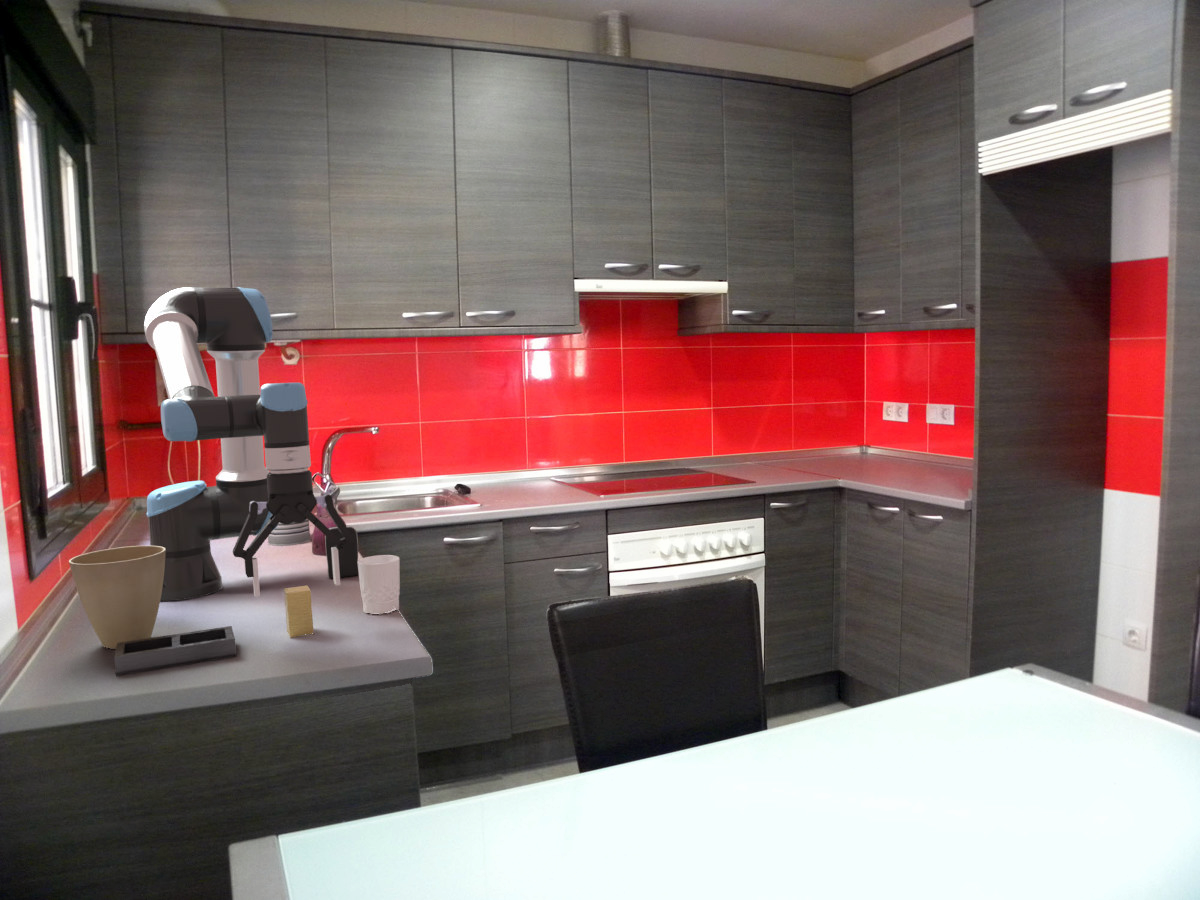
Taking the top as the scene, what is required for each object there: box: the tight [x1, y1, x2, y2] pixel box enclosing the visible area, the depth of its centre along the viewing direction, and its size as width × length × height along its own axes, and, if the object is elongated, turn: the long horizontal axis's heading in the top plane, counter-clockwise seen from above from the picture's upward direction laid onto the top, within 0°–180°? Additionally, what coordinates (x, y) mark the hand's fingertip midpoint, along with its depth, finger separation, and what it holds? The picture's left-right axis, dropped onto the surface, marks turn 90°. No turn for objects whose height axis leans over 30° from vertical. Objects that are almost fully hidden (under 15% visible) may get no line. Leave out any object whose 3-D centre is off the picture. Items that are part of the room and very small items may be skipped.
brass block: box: [283, 585, 314, 638], centre depth 160 cm, size 4×4×8 cm
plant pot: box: [68, 545, 166, 650], centre depth 157 cm, size 15×15×16 cm
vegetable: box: [311, 503, 348, 556], centre depth 229 cm, size 10×10×15 cm
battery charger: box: [325, 525, 359, 579], centre depth 202 cm, size 7×4×11 cm, turn 109°
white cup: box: [357, 554, 401, 615], centre depth 173 cm, size 8×8×10 cm
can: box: [267, 519, 311, 547], centre depth 244 cm, size 11×11×12 cm
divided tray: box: [114, 625, 237, 677], centre depth 148 cm, size 8×18×3 cm, turn 116°
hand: (297, 589), depth 159 cm, fingers open, 13 cm apart
